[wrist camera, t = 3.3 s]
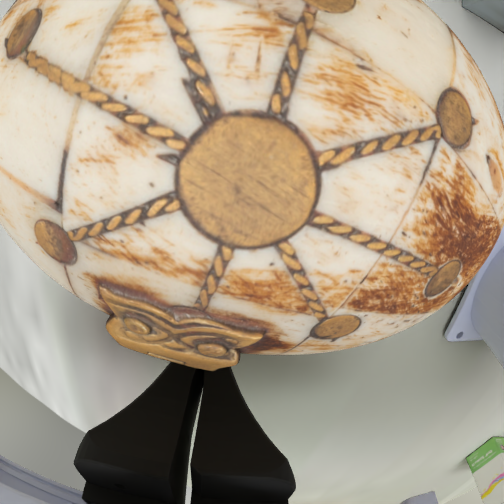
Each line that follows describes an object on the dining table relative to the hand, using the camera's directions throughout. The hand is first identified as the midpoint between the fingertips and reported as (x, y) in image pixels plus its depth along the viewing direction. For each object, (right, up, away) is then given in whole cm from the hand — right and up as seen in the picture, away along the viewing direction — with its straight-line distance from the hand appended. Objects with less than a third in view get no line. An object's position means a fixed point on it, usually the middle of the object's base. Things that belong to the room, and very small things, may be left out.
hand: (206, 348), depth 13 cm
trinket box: (+2, +9, -1) cm, 9 cm away
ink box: (+34, -22, +14) cm, 43 cm away
